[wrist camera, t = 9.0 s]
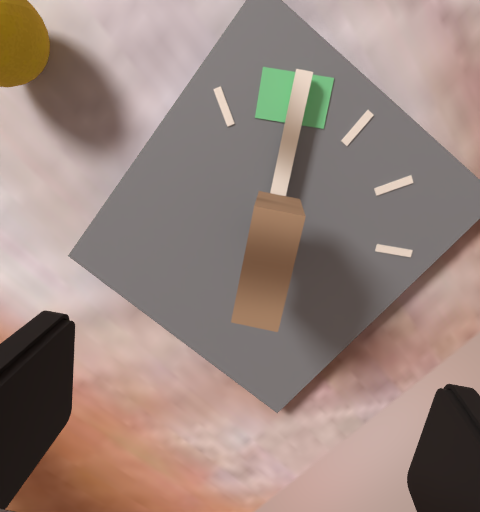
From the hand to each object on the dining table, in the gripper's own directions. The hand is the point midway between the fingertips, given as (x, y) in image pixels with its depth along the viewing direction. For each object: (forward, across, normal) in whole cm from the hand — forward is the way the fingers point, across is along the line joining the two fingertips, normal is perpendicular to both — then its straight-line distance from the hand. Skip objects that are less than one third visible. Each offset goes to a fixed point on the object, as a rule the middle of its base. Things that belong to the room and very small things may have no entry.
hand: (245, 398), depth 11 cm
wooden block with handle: (+18, 0, -4) cm, 19 cm away
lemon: (+21, +17, -9) cm, 28 cm away
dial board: (+20, 0, 0) cm, 20 cm away
